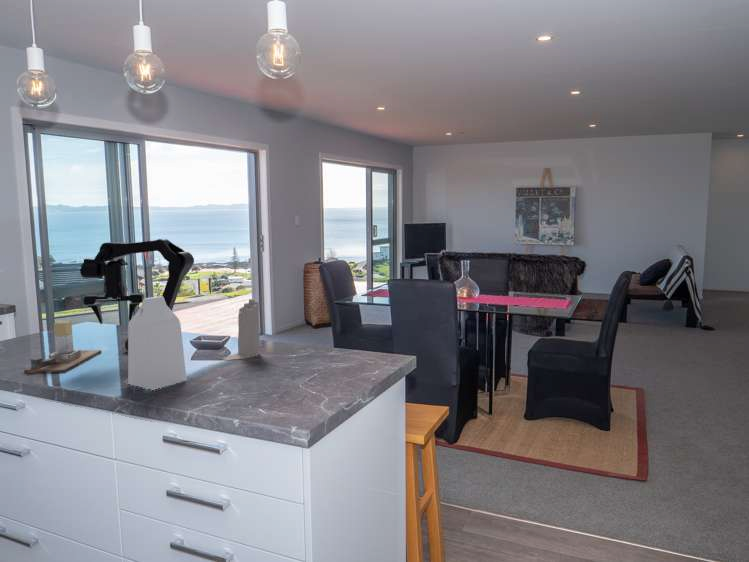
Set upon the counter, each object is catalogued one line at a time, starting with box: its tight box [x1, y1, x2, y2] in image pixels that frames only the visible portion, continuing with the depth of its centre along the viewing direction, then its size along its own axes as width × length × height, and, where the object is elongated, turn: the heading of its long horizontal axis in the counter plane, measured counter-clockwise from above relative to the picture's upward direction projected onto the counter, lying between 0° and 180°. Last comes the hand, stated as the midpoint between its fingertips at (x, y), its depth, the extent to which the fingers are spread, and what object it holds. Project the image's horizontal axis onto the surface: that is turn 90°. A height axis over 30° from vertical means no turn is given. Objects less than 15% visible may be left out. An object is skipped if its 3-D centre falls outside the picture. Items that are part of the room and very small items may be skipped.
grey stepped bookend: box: [221, 298, 261, 361], centre depth 202 cm, size 7×14×20 cm, turn 131°
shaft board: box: [23, 349, 102, 374], centre depth 196 cm, size 13×26×4 cm, turn 2°
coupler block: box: [53, 320, 74, 354], centre depth 195 cm, size 4×4×13 cm
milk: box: [127, 295, 187, 391], centre depth 171 cm, size 12×12×26 cm
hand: (115, 323), depth 197 cm, fingers open, 9 cm apart
